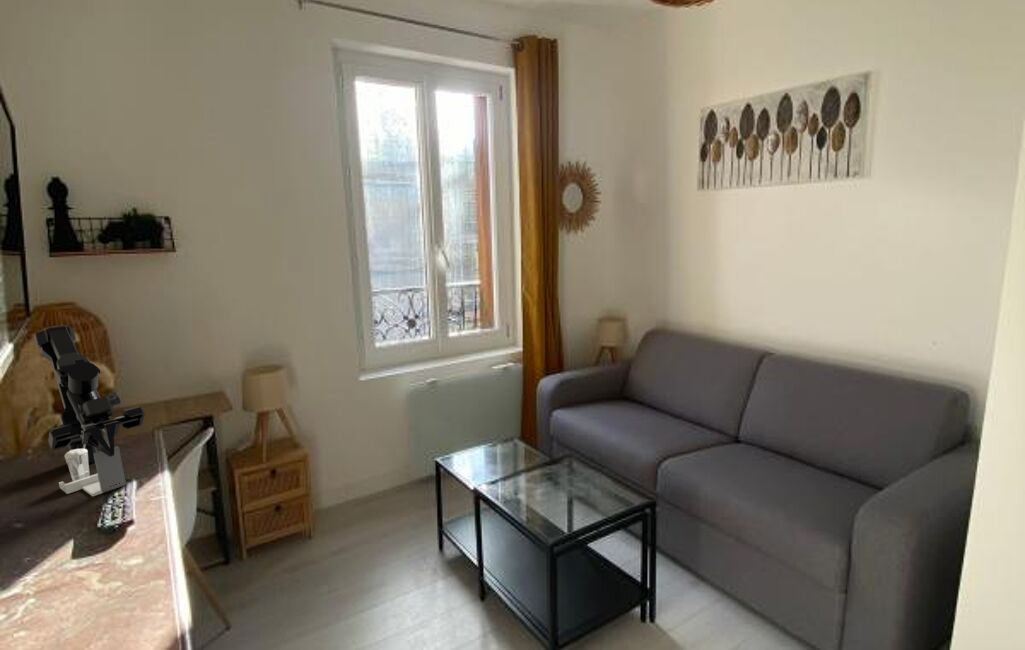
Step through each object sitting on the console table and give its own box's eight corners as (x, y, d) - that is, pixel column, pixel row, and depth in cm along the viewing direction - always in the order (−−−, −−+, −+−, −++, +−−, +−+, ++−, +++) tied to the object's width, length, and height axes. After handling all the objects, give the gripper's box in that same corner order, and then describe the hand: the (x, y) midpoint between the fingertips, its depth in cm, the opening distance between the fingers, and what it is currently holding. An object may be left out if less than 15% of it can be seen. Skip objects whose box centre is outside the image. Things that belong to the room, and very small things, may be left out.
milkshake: (100, 477, 142) (93, 441, 140) (82, 487, 137) (75, 450, 135) (84, 478, 143) (77, 441, 141) (66, 487, 137) (58, 450, 136)
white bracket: (59, 488, 137) (51, 450, 135) (107, 472, 145) (99, 436, 143) (77, 501, 129) (68, 461, 127) (126, 484, 137) (118, 446, 135)
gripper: (41, 395, 124) (67, 451, 120) (135, 375, 139) (161, 424, 134) (38, 422, 130) (62, 477, 126) (129, 400, 145) (153, 448, 140)
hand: (112, 455), depth 131 cm, fingers closed
